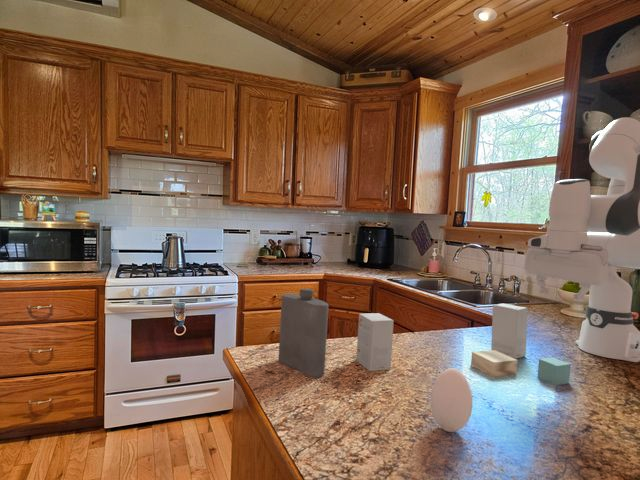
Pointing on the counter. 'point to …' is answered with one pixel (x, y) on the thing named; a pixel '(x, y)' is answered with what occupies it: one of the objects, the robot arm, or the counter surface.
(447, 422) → the egg
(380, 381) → the counter surface
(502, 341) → the skincare box
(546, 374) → the teal cube
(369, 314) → the small box
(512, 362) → the maple block
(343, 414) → the counter surface
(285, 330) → the flask
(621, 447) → the counter surface
